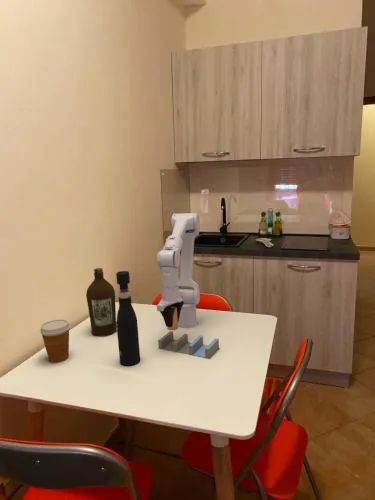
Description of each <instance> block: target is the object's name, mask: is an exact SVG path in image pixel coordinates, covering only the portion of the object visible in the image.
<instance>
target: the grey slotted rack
mask: <svg viewBox="0 0 375 500" xmlns="http://www.w3.org/2000/svg"><path fill="white" fill-rule="evenodd" d="M174 337H175V336H174V331H173V330H169V332H167V333H166V334H165V335H163V336H162V337H160V338H159V339H158V340H157V342H158V347H157V349H158V350H163V351H168V352H173V353H179V354H183V355H188V356H192V357H198V358H202V359H208V360H211V358H212V357H213V356H215V355H216V353H217V352H218V351H219V350H220V340H219V338H216V337H215V338H214V339H213V340H212V341H211V342H210V343H209V344H204V335H198V336H197V337H196V338H195V339H194V340H193V341H192V342H189V334H187V333H183V334H182V335H181V336H180V337H179V338H177V339H174Z"/></svg>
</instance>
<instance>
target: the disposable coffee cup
mask: <svg viewBox="0 0 375 500" xmlns="http://www.w3.org/2000/svg"><path fill="white" fill-rule="evenodd" d="M70 328H71V324H70V323H69V321H68V320H66V319H52V320H49V321H46V322H44V323H42V324H41V325H40V328H39V332H40V334H41V336H42V340H43V342H44V347H45V351H46V355H47V358H48V361H49V362H50V363H55V364H57V363H60V362H64V361H66V360H68V359H69V357H70V353H69V352H70V351H69V350H70V348H69V347H70Z"/></svg>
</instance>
